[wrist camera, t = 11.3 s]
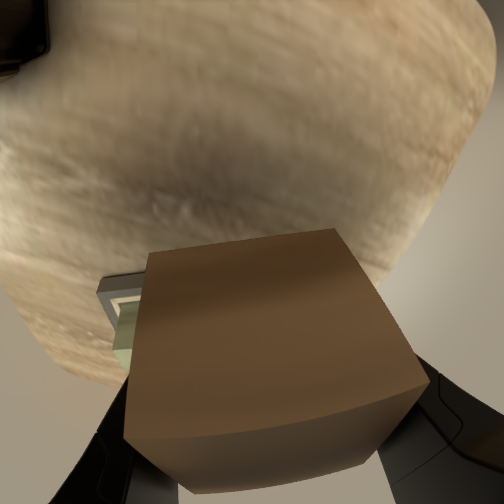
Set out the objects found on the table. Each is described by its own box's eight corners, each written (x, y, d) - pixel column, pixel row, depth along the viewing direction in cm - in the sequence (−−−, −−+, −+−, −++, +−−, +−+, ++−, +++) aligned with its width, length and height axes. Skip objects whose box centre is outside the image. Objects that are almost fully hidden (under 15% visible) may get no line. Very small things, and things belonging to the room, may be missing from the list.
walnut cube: (149, 253, 8) (123, 438, 4) (334, 228, 8) (430, 381, 4) (187, 364, 11) (194, 494, 7) (320, 343, 11) (363, 463, 7)
